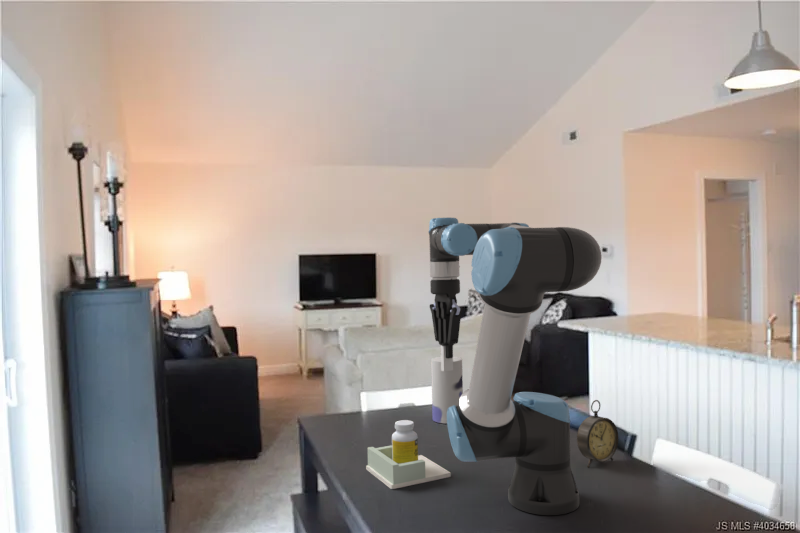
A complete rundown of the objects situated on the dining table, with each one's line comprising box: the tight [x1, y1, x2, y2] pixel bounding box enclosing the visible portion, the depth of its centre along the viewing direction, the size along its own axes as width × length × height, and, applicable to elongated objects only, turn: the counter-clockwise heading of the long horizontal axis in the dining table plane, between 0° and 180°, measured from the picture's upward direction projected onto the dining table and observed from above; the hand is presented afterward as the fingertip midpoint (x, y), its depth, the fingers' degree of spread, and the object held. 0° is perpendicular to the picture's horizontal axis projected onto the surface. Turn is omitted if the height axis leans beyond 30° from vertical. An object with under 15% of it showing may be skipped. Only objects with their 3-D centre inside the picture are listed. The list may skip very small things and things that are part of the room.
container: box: [430, 356, 464, 425], centre depth 200 cm, size 10×10×20 cm
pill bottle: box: [391, 419, 419, 464], centre depth 154 cm, size 6×6×12 cm
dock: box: [365, 444, 452, 490], centre depth 154 cm, size 15×16×6 cm
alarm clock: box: [576, 399, 619, 468], centre depth 157 cm, size 11×5×16 cm, turn 119°
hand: (447, 370), depth 158 cm, fingers closed
